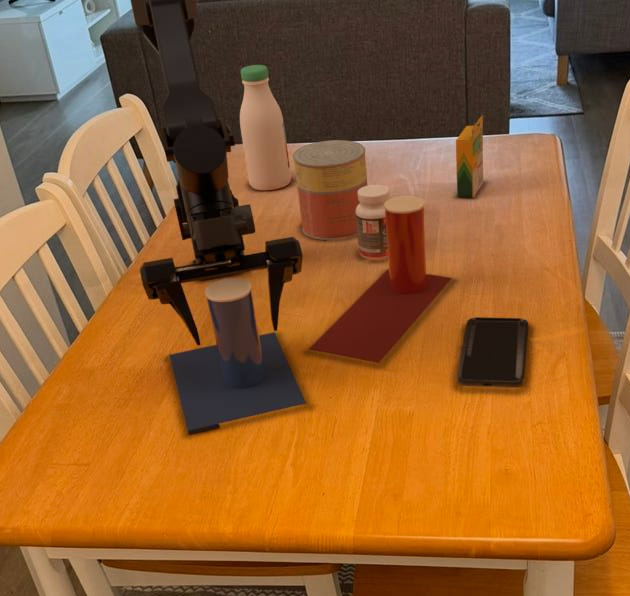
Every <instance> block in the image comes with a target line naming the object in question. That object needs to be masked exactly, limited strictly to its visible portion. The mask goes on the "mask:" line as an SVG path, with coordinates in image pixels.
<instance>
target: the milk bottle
mask: <svg viewBox="0 0 630 596" xmlns="http://www.w3.org/2000/svg"><path fill="white" fill-rule="evenodd" d="M268 69H269V68H268V67H267V66H266V65H263V64H252V65H247V66H244V67H242V68H241V69H240V78H241V83H242V84H243V88H244V90H243V98H242V103H241V106H240V111H239V126H240V134H241V140H242V147H243V153H244V161H245V167H246V173H247V179H248V183H249V186H250V187H251V188H252V189H254V190H258V191H275V190H278V189H282V188H284V187H286V186H288V185H289V184H290V183H291V182H292V181H291V180H292V175H291V165H290V159H289V157H290V156H289V150H288V143H287V136H286V129H285V123H284V117H283V113H282V111H281V110H282V109H281V107H280V106H279V103H278V101H277V100H276V99H275V97H274V95H273V93H272V91H271V88H270V86H269V81H270V78H269V70H268Z"/></svg>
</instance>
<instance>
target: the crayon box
mask: <svg viewBox="0 0 630 596" xmlns="http://www.w3.org/2000/svg"><path fill="white" fill-rule="evenodd" d="M483 123H484V115H483V114H482V115H481V116H480V117H479V119H477V121H476V123H474V125H466V126H465V128H464V129H463V130H462V131H461V133H460V134H459V136H457V138H456V140H455V160H456V162H455V164H456V193H457V195H456V196H457V198H459V199H474V198H475V196H476V194H477V193H478V191H479V190H480V188H481V187H482V185H483V184H484V136H483V135H484V132H483V131H484V130H483V127H484V124H483Z"/></svg>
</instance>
